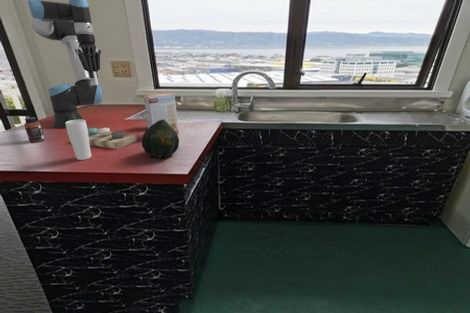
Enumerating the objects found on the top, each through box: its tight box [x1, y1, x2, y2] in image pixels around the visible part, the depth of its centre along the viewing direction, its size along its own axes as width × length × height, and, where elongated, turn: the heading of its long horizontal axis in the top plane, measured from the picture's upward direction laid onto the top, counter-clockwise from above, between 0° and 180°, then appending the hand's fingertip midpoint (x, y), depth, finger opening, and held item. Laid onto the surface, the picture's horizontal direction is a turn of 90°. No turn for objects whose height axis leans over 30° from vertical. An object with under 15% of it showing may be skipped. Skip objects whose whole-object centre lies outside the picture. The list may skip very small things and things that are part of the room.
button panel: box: [89, 131, 138, 150], centre depth 118 cm, size 26×12×3 cm, turn 69°
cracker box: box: [143, 92, 179, 135], centre depth 124 cm, size 14×6×21 cm, turn 135°
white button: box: [97, 127, 111, 135], centre depth 117 cm, size 5×5×2 cm
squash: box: [141, 119, 180, 159], centre depth 101 cm, size 14×15×15 cm
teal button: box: [87, 127, 99, 135], centre depth 119 cm, size 5×5×2 cm
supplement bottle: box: [23, 116, 46, 143], centre depth 117 cm, size 6×6×11 cm
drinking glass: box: [65, 118, 92, 161], centre depth 97 cm, size 7×7×15 cm
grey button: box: [111, 130, 125, 138], centre depth 114 cm, size 5×5×2 cm
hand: (95, 84), depth 127 cm, fingers closed
